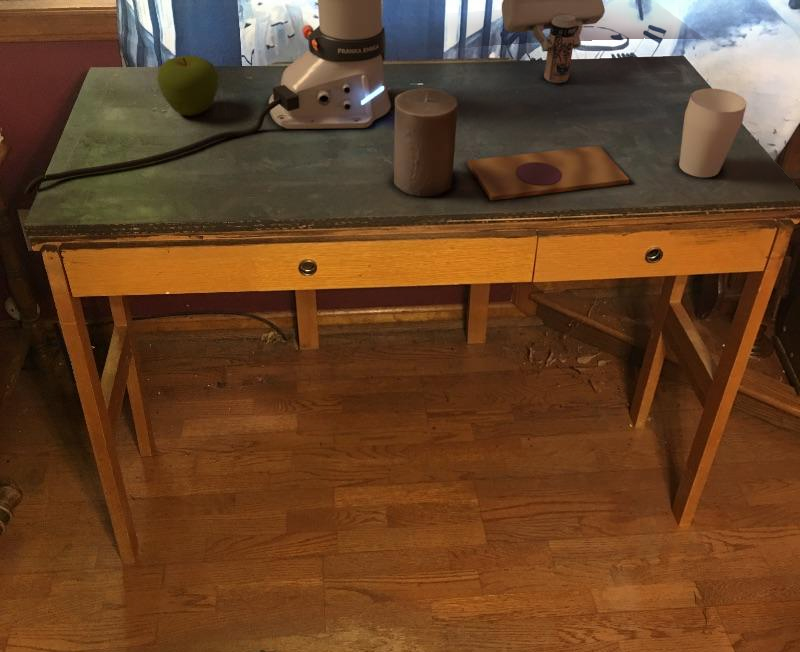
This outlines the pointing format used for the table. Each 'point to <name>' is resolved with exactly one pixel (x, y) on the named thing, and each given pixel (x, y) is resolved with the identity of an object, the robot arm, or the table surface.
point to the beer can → (560, 48)
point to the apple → (188, 84)
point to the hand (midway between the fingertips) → (561, 48)
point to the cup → (710, 130)
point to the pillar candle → (424, 141)
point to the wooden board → (546, 172)
